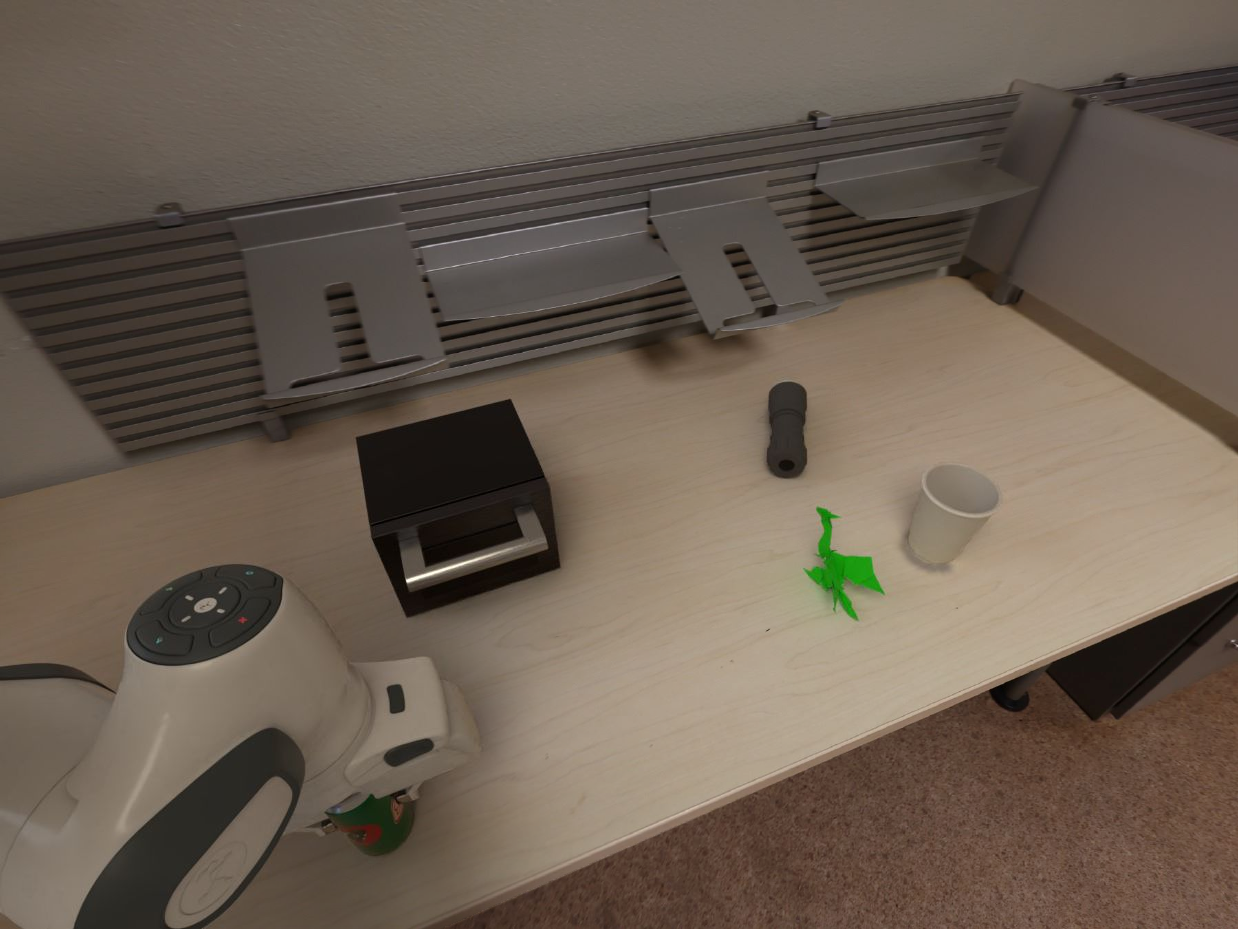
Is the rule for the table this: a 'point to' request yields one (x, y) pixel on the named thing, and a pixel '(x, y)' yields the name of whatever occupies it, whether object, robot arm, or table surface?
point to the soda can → (372, 822)
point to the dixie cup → (951, 510)
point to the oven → (444, 461)
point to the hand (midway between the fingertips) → (370, 807)
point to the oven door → (469, 546)
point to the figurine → (841, 567)
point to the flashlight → (787, 428)
